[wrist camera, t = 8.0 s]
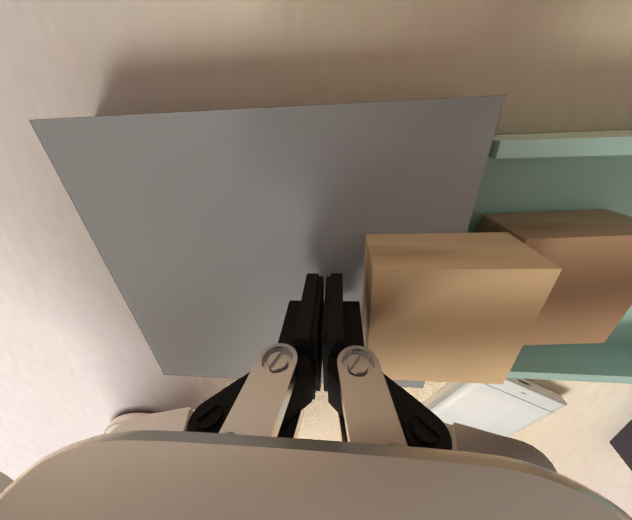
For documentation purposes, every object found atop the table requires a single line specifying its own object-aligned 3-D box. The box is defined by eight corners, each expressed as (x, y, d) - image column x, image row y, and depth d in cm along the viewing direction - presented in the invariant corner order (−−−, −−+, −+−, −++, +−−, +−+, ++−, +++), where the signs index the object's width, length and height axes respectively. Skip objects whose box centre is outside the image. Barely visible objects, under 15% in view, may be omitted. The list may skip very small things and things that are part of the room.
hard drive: (457, 467, 25) (571, 408, 19) (388, 442, 24) (487, 372, 18) (450, 448, 26) (555, 388, 20) (385, 424, 25) (476, 353, 19)
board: (411, 350, 19) (422, 387, 16) (186, 342, 20) (164, 374, 18) (465, 100, 11) (505, 95, 8) (93, 119, 13) (28, 119, 10)
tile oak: (471, 333, 14) (503, 384, 11) (360, 330, 14) (365, 378, 12) (507, 232, 11) (562, 268, 8) (365, 234, 11) (373, 269, 9)
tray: (654, 345, 17) (712, 387, 14) (418, 337, 18) (431, 374, 15) (858, 120, 10) (1035, 121, 8) (464, 136, 12) (501, 140, 9)
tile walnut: (554, 304, 15) (603, 343, 12) (454, 307, 15) (482, 346, 13) (605, 208, 12) (684, 233, 10) (482, 214, 12) (526, 239, 10)
